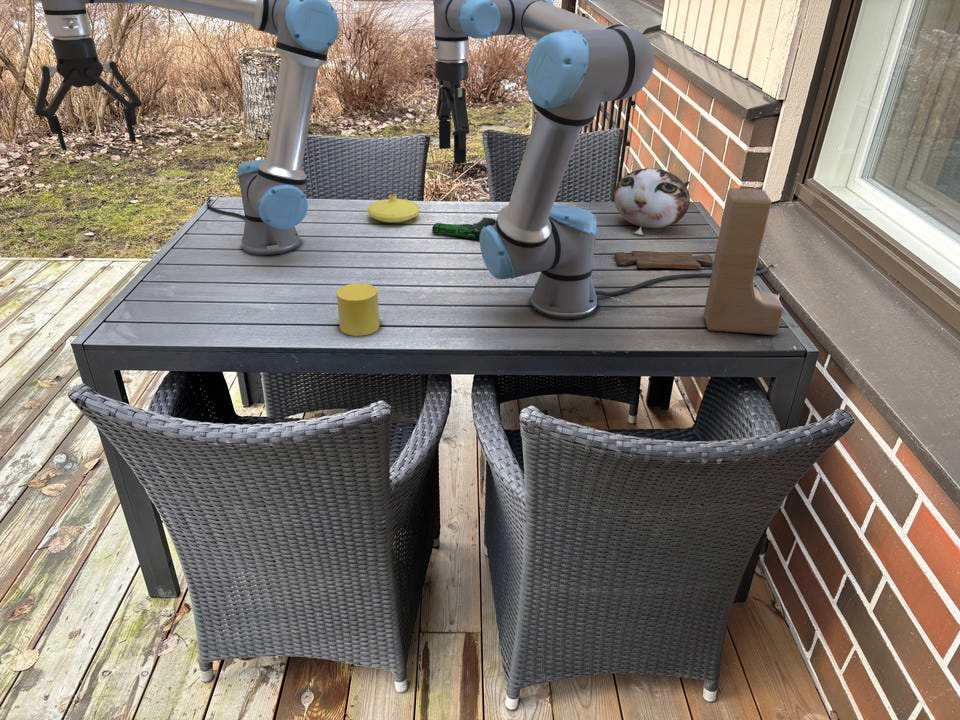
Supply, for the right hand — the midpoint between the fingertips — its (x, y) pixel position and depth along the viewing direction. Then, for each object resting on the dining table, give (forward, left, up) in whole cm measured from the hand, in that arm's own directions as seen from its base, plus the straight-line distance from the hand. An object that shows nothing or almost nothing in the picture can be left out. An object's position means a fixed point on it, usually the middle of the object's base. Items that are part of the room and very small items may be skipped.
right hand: (452, 155), depth 171 cm
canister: (+27, +28, -29) cm, 48 cm away
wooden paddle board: (-55, +10, -29) cm, 63 cm away
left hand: (+77, -3, +6) cm, 77 cm away
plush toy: (-63, -16, -29) cm, 71 cm away
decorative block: (-55, +47, -29) cm, 78 cm away
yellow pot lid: (+10, -39, -29) cm, 50 cm away
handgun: (-10, -24, -29) cm, 39 cm away
